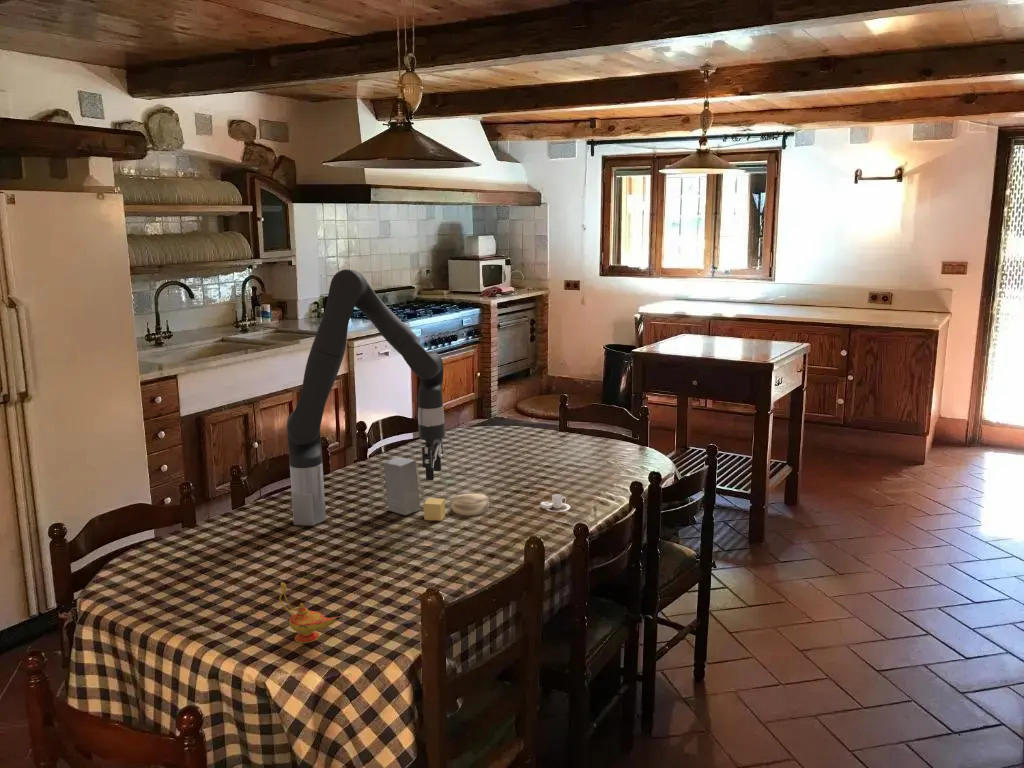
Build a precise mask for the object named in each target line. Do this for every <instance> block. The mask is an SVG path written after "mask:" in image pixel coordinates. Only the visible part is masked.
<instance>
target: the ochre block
mask: <svg viewBox="0 0 1024 768" xmlns="http://www.w3.org/2000/svg"><path fill="white" fill-rule="evenodd" d="M423 515H424V517H423V519H424V521H439V522H440V521H442V520H443V519H444V517H445V515H446V499H445V498H438V497H437V498H436V497H434V498H433V497H428V498H427V499H426V501H425V502H424V503H423Z"/></svg>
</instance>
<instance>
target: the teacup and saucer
mask: <svg viewBox="0 0 1024 768" xmlns="http://www.w3.org/2000/svg"><path fill="white" fill-rule="evenodd" d="M551 499H552V502H548V501H541V502H540V503H539V506H540V507H541V508H542V509H544V510H545V511H546V510H547V511H548V512H552V513H553V512H555V513H557V512H558V513H562V512H567V511H568V510H570V509H571V505H569V504H568V503H566V502H567V498H566V497H565V496H563V495H562V493H561V494H560V493H555V494H552V496H551ZM563 499H565V500H564V502H563ZM563 506H565V507H566V508H565V509H561V508H562V507H563ZM552 507H553V508H554V509H561V510H553V509H552Z"/></svg>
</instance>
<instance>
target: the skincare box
mask: <svg viewBox="0 0 1024 768" xmlns="http://www.w3.org/2000/svg"><path fill="white" fill-rule="evenodd" d="M416 462H417V461H416V460H413V459H409V458H406V457H405V458H404V457H401V456H397V457H395V458H392V459H391V458H390V459H389V460H386V461H383V463H382V464H383V472H384V474H383V475H384V482H385V490H386V491H385V492H386V500H387V501H386V502H387V510H388V511H389V512H392V513H396V514H400V515H403V516H408V515H411V514H413V513H416V512H419V511H421V501H420V491H419V481H418V471H417V463H416Z"/></svg>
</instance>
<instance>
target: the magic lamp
mask: <svg viewBox="0 0 1024 768" xmlns="http://www.w3.org/2000/svg"><path fill="white" fill-rule="evenodd" d="M286 590H287V584H286V583H285V582H282V581H281V582H280V591H281V594H280V595H279V599H278V600H279V603H280V604H281V605H282V607H283V608H284V609H285V610H286V611H287V612H288V613H289V614H290V617H288V625H289V627H290V628H291V630H293V631H295V632H298V633H297V634H296V635H295V636H294V641H296V642H297V643H301V644H308V643H313V642H314V641H317V640H318V639H319V638H320V633H319V632H318V631H320V630H324V629H326V628H327V627H330V626H332V625H333V624H335V623H336V622H338V621H344V620H345V617H344V616H333V617H325V616H324V615H323V614H322V613H321V612H319V611H314V610H309V609H308V608H307V607H306V606H305V605H304V603H303V602H302V603H300V604H299V606H298V607H297V608H293V607H292V606H291V603H289V601H288V598H287V596H286V593H285V592H286ZM282 596H284V599H285V600H286V604H287V605H288V607H289V608H290V609H291V610H292V611H296V613H293V612H292V611H291V610H289V608H288V607H286V605H284V603H283V602H282Z"/></svg>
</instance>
